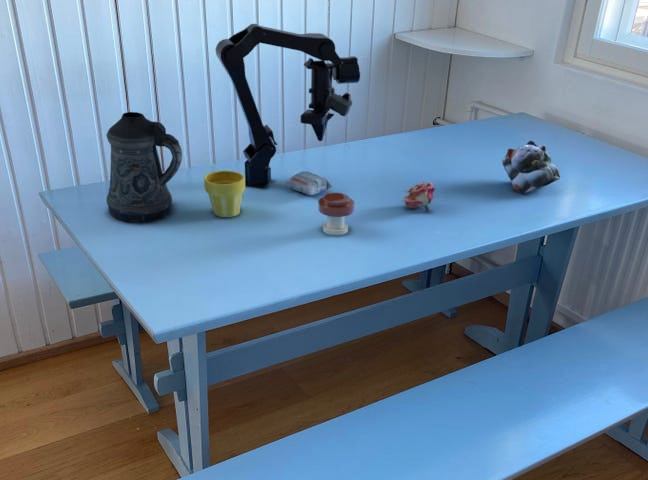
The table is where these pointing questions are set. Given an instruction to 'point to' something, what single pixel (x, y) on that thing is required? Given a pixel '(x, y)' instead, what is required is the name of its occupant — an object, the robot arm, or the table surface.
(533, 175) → the lucky cat figurine
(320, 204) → the mushroom
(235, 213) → the flower pot
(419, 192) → the flower
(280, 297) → the table surface
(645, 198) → the table surface
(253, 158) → the robot arm
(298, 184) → the packaged food
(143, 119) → the beer stein
